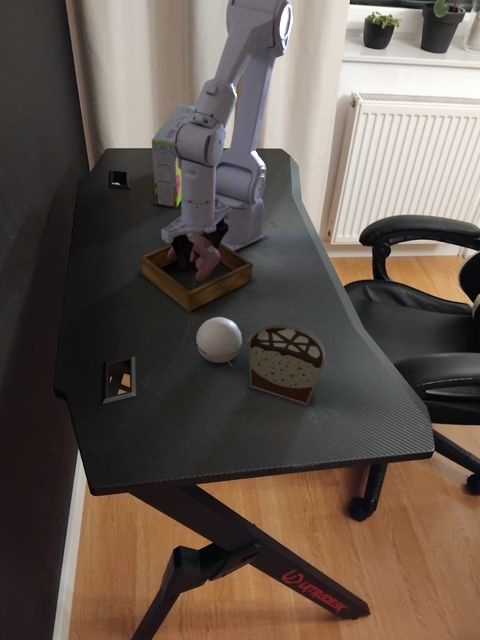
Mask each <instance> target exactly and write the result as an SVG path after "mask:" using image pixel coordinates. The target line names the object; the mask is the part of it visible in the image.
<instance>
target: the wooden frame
mask: <svg viewBox="0 0 480 640" xmlns="http://www.w3.org/2000/svg"><path fill="white" fill-rule="evenodd" d="M196 234H198V235H201V236H203V237H204V231H203V232H197V233H196ZM171 248H172V245H171V243H170V244H168V245H166V246H163V247H161V248H158V249H155V250H154V251H151V252H149V253H145V254H144V255H141V256H140V257H139V259H140V271H141V272H140V273H141V275H142V276H143V277H145V278H147V280H149V281H150V282H151V283H152V284H154V285H155V286H156V287H158V288H159V289H160V290H161V291H162V292H163V293H165V294H167V296H169V297H170V298H172V300H174V301H175V302H177V304H179V305H180V306H181V307H183V308H184V309H185V310H187V311H188V312H191V311H193V310H195V309H198V308H199V307H201V306H203V305H205V304H207V303H209V302H211V301H213V300H215V299H217V298H219V297H221V296H223V295H225V294H227V293H229V292H231V291H233V290H235V289H238V288H239V287H241V286H242V285H246V283H249V282H251V281H252V275H253V267H254V263H252V262H251V261H249V260H248V259H246V258H245V257H243V256H242V255H241V254H239V253H237V252H236V251H233V250H231V249H230V248H228V247H227V246H225V245H224V244H222V243H220V245H219V247H218V251H219V254H220V261H219V263H222V264H223V265H224V266H226V267H227V268H229V269H230V270H231V271H230V272H229V271H228V273H226V274H223V275H221V276H219V277H217V278H215V279H212V280H210V281H209V282H207V283H205V284H202V285H201V286H198V287H195V288H194V289H192V290H189V289H188V288H186V287H185V286H184V285H182V284H181V283H180V282H178V280H175V278H173V277H171V276H170V275H169V274H168V273H167V272H165V270H163V269H161V268H163V267H165V266H168V265H171V264H173V263H175V262H178V259H175V260H173V261H169V260H168V259H167V255H168V252H169V250H170V249H171Z"/></svg>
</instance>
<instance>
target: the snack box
mask: <svg viewBox="0 0 480 640" xmlns="http://www.w3.org/2000/svg"><path fill="white" fill-rule="evenodd" d="M194 107H195V105H190V104H188V105H187V104H182V103H177V104H176V105H175V106H174V108H173V109H172V111H171V112H170V114H169V115H168V116H167V118H166V119H165V121H164V122H163V124H162V125H161V127H160V128H158V131H157V132H156V133H155V135H154V136H153V138H152V139H151V150H152V165H153V166H152V168H153V181H154V182H153V183H154V198H155V199H154V203H155V205H156V206H164V207H170V208H178V206H179V204H180V202H181V169H180V168H179V167H178V160H177V157H176V155H175V153H174V148H173V145H174V143H175V136H176V133H177V130H178V128H179V127H180V126H181V125H182V124H185V123H187V122H189V119H190V116H191V114H192V112H193V109H194Z"/></svg>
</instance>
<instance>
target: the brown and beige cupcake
mask: <svg viewBox="0 0 480 640" xmlns="http://www.w3.org/2000/svg"><path fill="white" fill-rule="evenodd" d="M247 347H248V356H249V357H248V359H249V361H248V362H249V387H250V388H252V389H255V390H259V391H261V392H265V393H268V394H271V395H274V396H277V397H280V398H282V399H286V400H288V401H289V400H290V401H292V402H295V403H298V404H302V405H305V406H308V404H309V402H310V399H311V397H312V394H313V392H314V390H315V387H316V384H317V382H318V379H319V376H320V374H321V372H322V369H323V371H324V373H326V372H327V362H328V361H327V353H326V352H327V351H326V349H325V346H324V344H323V342H322V341H321V339H320V338H319V337H318V336H317V335H315V334H314V333H313V332H311V331H310V330H308V329H306V328H304V327H301V326H299V325H295V324H290V323H271V324H267V325H264V326H262V327H259V328H257V330H254V332H253V333H252V334H251V335H250V336H249V338H248V339H247V341H246V343H245V345H244V348H247Z"/></svg>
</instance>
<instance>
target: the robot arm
mask: <svg viewBox="0 0 480 640" xmlns="http://www.w3.org/2000/svg"><path fill="white" fill-rule="evenodd" d="M292 10H293V9H292V5H291V3H290V1H289V0H228V1H227V4H226V11H225V13H226V14H225V23H226V24H225V26H226V32H227V36H226V40H225V44H224V47H223V49H222V52H221V56H220V58H219V61H218V65H217V68H216V72H215V75H214V78H211V79H209V80H207V81H205V82H204V83H203V86H202V88H201V90H200V93H199V95H198V98H197V100H196V103H195V105H194V106H195V107H194V109H193V112H192V114H191V116H190V119H189V122H187V123H185V124H182V125H181V126H180V127H179V128H178V130H177V133H176V136H175V143H174V145H173V148H174V153H175V155H176V157H177V160H178V167H179V168H180V169H181V201H180V202H181V205H180V209H181V210H180V211H181V212H180V213H181V214H180V215H179V216H178V217H176V219H175V220H174V221H173V222H171V223H170V224H169V225H167V226H165V227H164V228H162V229H161V230H160V233H161V238H160V239H161V240H162V241H163V242H164V243H166V244H168V245H170V244H171V245H172V247H173V249H174V251H175V253H176V256H177V259H178V260H177V262H178V266H179V268H181V269H182V270H183V271H185V272H188V271H189V270H190V267H191V262H190V256H191V252H192V248H193V246H194V243H193V242H191V241H190V240H188V237H187V234H190V233H195V234H197V233H200V232H203V231H204V237H205V238H206V239H208V240H209V241H210V242H211V243H212V244H213V246H214V247H215V249H217V250H218V247H219V245H220V243H222V244H224V245H225V246H227V247H228V248H230V249H231V250H233V251H234V252H236V251H238V250H241V249H242V248H244V247H247V246H249V245H251V244H253V243H255V242H258V241H260V240H262V239H264V238H265V234H264V233H263V228H264V227H263V226H264V217H265V205H264V201H263V199H262V197H263V195H264V192H265V187H266V173H267V166H266V164H265V163H264V161H263V160H262V158H261V157H260V156H259V155H258V153H257V151H256V150H257V146H258V141H259V137H260V132H261V128H262V127H261V126H262V122H263V117H264V113H265V109H266V103H267V99H268V95H269V94H268V93H269V90H270V84H271V79H272V75H273V71H274V68H275V67H274V66H275V63H276V59H278V58H280V57H282V56H284V55H285V53H286V49H287V47H288V43H289V38H290V33H291V30H292V29H291V28H292V25H293V11H292ZM242 75H243V77H242ZM241 77H242V78H243V79H242V83H241V87H240V88H241V89H240V94H239V99H238V97H237V93H236V91H235V88H236V86H237V84H238V82H239V80H240V79H241ZM237 101H238V104H237V109H236V115H235V120H234V124H233V129H232V135H231V140H230V145H229V148H226V149H225V150H224V146H225V140H226V137H227V132H226V128H227V125H228V123H229V120H230V118H231V116H232V114H233V112H234V109H235V106H236V103H237ZM216 200H217V206H216Z"/></svg>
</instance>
